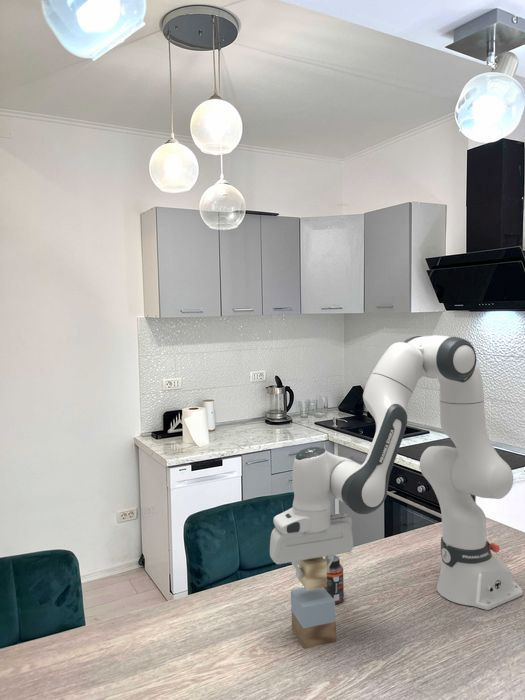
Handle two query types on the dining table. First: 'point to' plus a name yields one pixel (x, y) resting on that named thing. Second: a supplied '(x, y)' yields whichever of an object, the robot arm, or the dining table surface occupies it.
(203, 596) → the dining table surface
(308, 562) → the maple block
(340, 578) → the supplement bottle
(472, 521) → the robot arm
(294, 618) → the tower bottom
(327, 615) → the tower top
